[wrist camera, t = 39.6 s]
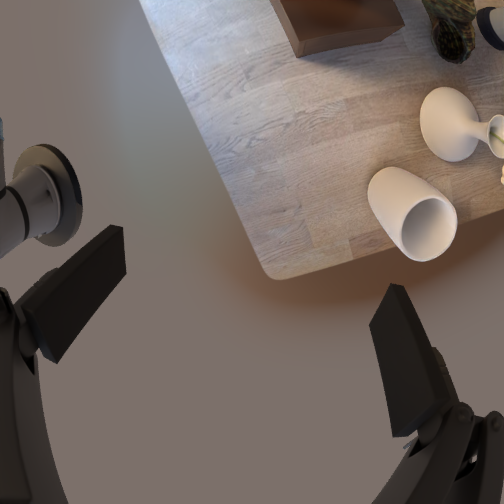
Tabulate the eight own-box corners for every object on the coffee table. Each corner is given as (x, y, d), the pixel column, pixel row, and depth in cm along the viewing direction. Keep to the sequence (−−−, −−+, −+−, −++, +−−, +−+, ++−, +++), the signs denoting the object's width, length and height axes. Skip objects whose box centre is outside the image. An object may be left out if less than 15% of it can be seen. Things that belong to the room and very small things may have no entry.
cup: (363, 162, 36) (398, 189, 24) (415, 163, 34) (465, 192, 22) (362, 217, 40) (390, 266, 28) (411, 216, 38) (452, 262, 26)
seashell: (392, 22, 25) (419, 3, 16) (421, -15, 19) (448, -36, 11) (446, 70, 26) (483, 66, 18) (471, 30, 21) (506, 21, 12)
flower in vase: (414, 80, 29) (540, 73, 7) (472, 96, 27) (594, 118, 5) (412, 165, 35) (524, 242, 13) (469, 173, 33) (577, 245, 11)
